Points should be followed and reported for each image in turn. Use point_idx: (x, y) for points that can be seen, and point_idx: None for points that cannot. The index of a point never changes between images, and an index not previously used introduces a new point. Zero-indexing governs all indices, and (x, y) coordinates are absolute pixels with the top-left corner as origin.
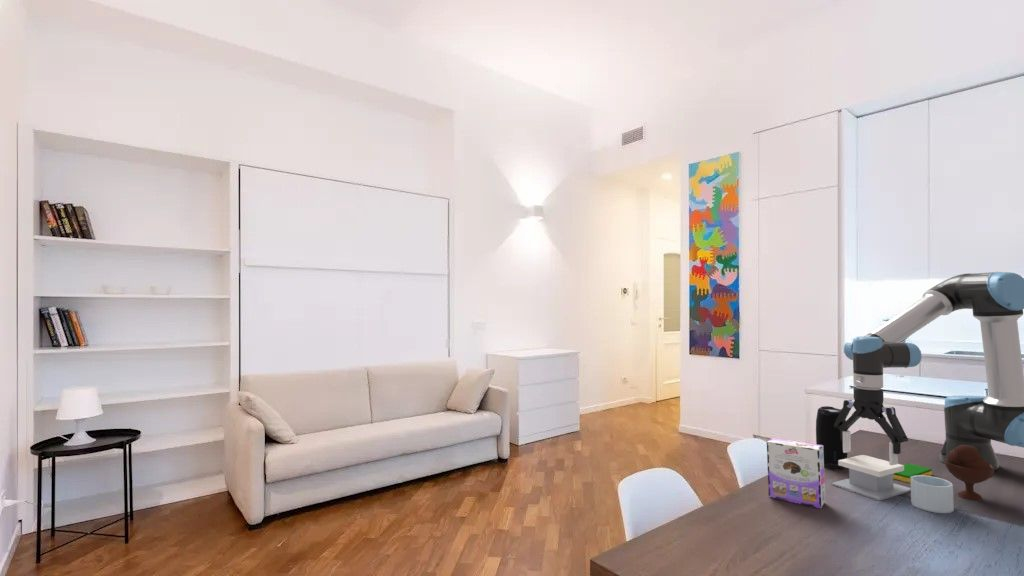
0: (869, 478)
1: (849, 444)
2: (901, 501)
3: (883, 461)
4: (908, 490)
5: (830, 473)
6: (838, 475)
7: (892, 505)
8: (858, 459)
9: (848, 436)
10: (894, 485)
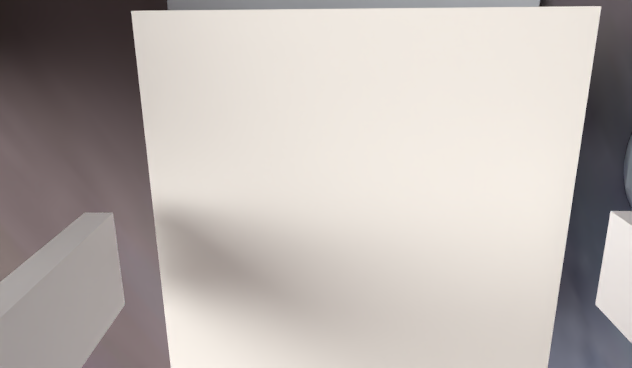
0: None
1: (76, 272)
2: (579, 227)
3: (402, 62)
4: (536, 5)
5: (24, 124)
6: (78, 114)
7: (574, 327)
8: (236, 224)
9: (18, 362)
10: (434, 2)
